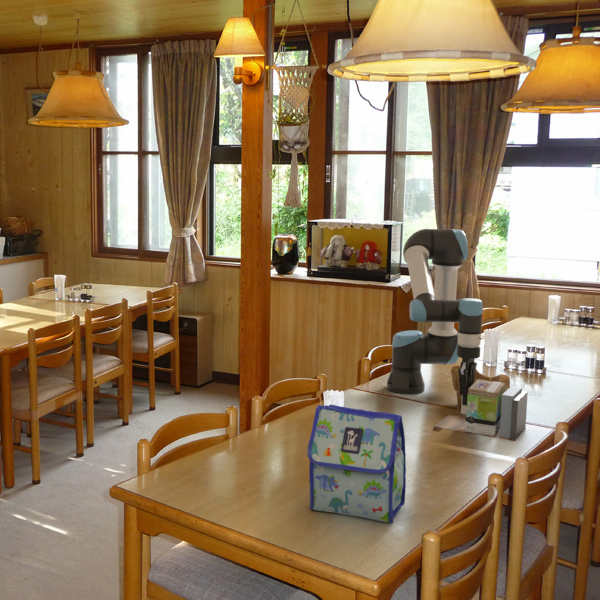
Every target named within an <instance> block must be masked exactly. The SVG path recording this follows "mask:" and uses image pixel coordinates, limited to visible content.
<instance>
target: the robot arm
mask: <svg viewBox="0 0 600 600" xmlns="http://www.w3.org/2000/svg"><path fill="white" fill-rule="evenodd" d="M468 245H469V244H468V239H467V236H466V233H465V232H464V231H463V230H461V229H457V228H456V229H453V228H423V229H419V230H417V231H415V232H414V233H412V234H411V235H410V236H409V237H408V238H407V240H406V242H405V243H404V245H403V249H402V252H403V253H402V254H403V260H404V262H405V263H406V264H407V268H408V272H409V279H410V284H411V285H410V286H411V291H412V297H413V299H412V300H410V303H409V319H410V320H411V321H412V322H419V323H431V326H430V327H429V328H428V329H427V334H423V332H422V331H420V330H414V329H413V330H404V331H403V330H402V331H399V332H396V333H395V334H394V335H393V336H392V343H391V347H392V349H391V351H392V352H391V353H392V355H391V370H390V372H389V375H388V379H387V381H386V389H387V390H388V391H390V392H393V393H396V394H409V395H412V394H419V393H422V392H424V391H425V387H426V386H425V380H424V378H423V374H422V371H421V370H422V365H443V366H444V365H455V363H457V362H458V361H459V359H460V358H461V362H460V365H459V366H460V367H461V369H460V368H459V370H458V372H459V388H460V393H459V395H462V400H461V411H460V414H462V415H466V412H467V398H468V389H469V388H470V387H471V385H472V384H473V383H474V379H475V371H476V369H477V365H478V363H477V362H476V361H475V360H476V359H479V358H480V357H481V347H480V345H481V343H482V340H483V336H482V327H483V326H482V324H483V312H484V309H483V301H482V300H481V299H478V298H474V297H473V298H470V297H469V298H468V297H467V298H458V299H457V289H458V288H457V286H458V274H459V273H458V272H459V269H460V268H461V267H462V266H463V262H464V261H466V260H467V259H468V255H469V246H468ZM429 260H431V264H432V265H433V267H435V269H434V270H435V271H434V273H435V274H434V284H433V280H432V273H431V269H430V264H429ZM455 323H458V326H457V328H458V329H456V328H455Z"/></svg>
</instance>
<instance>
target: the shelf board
mask: <svg viewBox="0 0 600 600" xmlns="http://www.w3.org/2000/svg"><path fill="white" fill-rule="evenodd" d="M465 424H466V417H463V416H458V415H452V414H448V415H446V416H444V418H442V419H441V420H440V421H439V422H437V423H436V424H434V426H433V430H437V431H440V432H441V431H442V430H443V429H445V430H451V431H455V432H456V431H457V432H463V433H468V434H473V435H479V436H484V437H489V438H495V439H500V440H504V441H505V440H506V441H512V442H516V441H517V439H516V440H512V439H509V438H504V437H500V428H499V429H498V431H497V432H496V434H495V435H494V436H490V435H484V434H477V433H471V432H466V431H465ZM526 429H527V428H526V427H525V430H526ZM522 434H523V432H522V433H521V435H522Z"/></svg>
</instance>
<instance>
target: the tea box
mask: <svg viewBox="0 0 600 600" xmlns="http://www.w3.org/2000/svg"><path fill="white" fill-rule="evenodd" d="M504 392H505V383H502V382H494V381H487V380H479V379H477V380H476V381H475V382H474V383H473V384H472V385H471V387H470V388H469V389H468V398H467V412H466V414H465V418H466V424H465V431H466V432H465V433H467V432H471V433H470V434H472V433H477V434H476V435H478V434H484V435H490V436H494V435H495V434H496V432H497V431H498V429H499V428H500V419H501V402H502V394H503V393H504Z"/></svg>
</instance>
